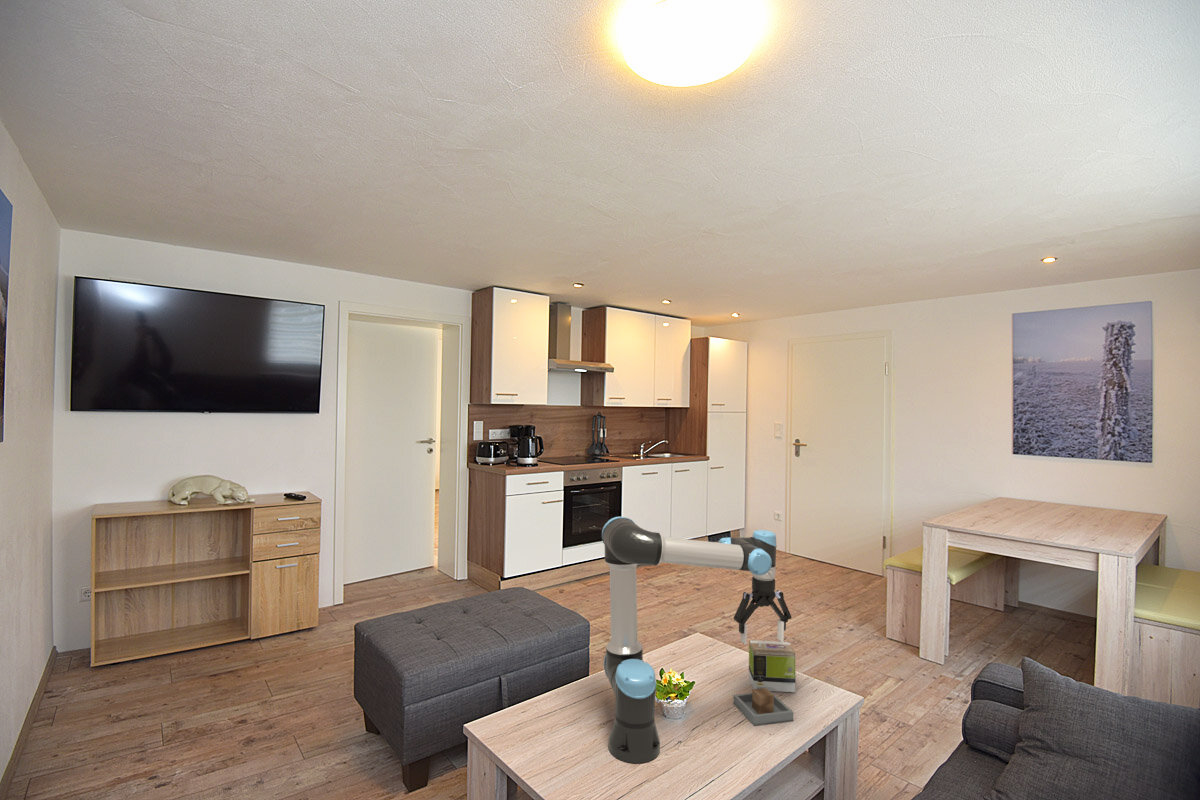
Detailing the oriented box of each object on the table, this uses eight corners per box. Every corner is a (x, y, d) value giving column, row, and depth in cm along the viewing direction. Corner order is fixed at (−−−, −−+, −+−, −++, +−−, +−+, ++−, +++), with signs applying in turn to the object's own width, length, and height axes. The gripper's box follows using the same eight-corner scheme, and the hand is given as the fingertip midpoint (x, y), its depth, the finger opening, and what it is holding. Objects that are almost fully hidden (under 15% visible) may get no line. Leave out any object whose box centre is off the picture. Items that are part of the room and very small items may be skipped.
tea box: (789, 680, 209) (789, 640, 209) (795, 693, 199) (796, 652, 199) (748, 677, 211) (748, 638, 211) (752, 690, 201) (753, 649, 201)
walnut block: (759, 715, 183) (759, 696, 183) (752, 707, 188) (752, 689, 188) (773, 713, 184) (773, 695, 184) (765, 705, 189) (765, 688, 189)
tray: (754, 726, 178) (754, 716, 178) (733, 703, 191) (733, 694, 191) (793, 721, 181) (793, 711, 181) (769, 699, 195) (770, 690, 195)
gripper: (735, 582, 181) (733, 648, 180) (803, 579, 187) (801, 643, 186) (724, 575, 188) (722, 639, 188) (790, 573, 194) (788, 634, 194)
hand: (762, 641), depth 187 cm, fingers open, 13 cm apart
